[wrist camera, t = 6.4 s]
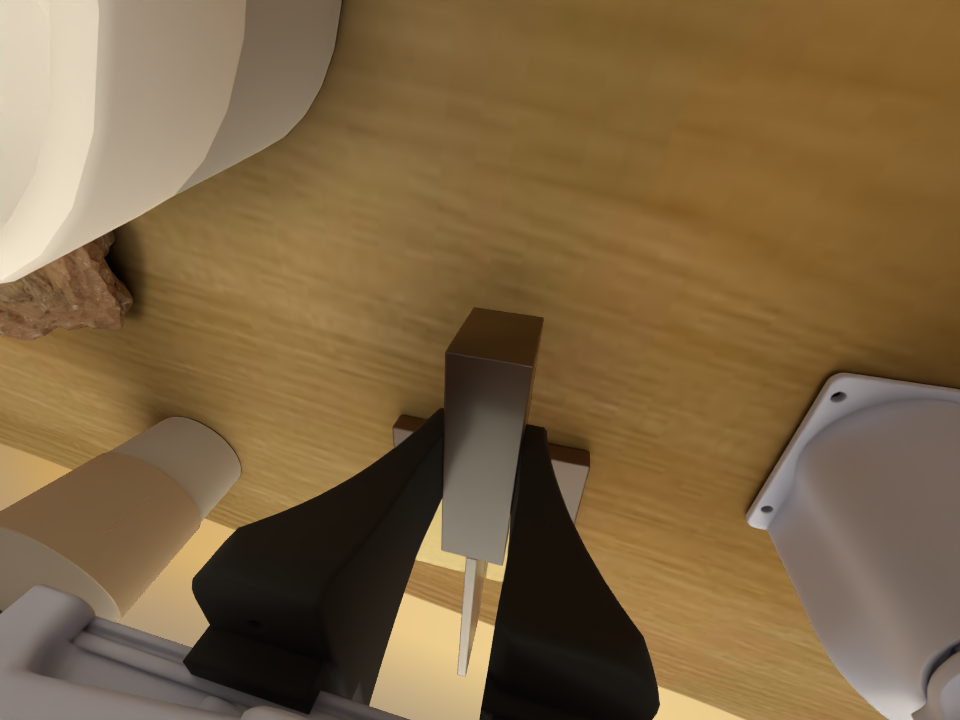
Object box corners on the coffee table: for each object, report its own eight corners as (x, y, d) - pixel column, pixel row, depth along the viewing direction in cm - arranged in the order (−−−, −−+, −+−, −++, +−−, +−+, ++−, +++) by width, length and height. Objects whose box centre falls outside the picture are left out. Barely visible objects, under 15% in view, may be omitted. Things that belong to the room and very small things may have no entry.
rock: (-84, 47, 13) (65, 63, 17) (-319, 69, 15) (-129, 78, 19) (121, 371, 20) (193, 327, 24) (-51, 365, 22) (44, 324, 26)
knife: (544, 316, 12) (534, 366, 9) (496, 615, 20) (484, 683, 18) (473, 306, 12) (445, 351, 10) (456, 604, 21) (438, 669, 18)
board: (560, 561, 26) (559, 578, 25) (406, 524, 28) (400, 538, 27) (590, 451, 21) (590, 467, 20) (400, 414, 23) (392, 427, 22)
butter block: (479, 529, 25) (467, 574, 22) (419, 514, 25) (401, 556, 23) (485, 459, 22) (473, 502, 19) (417, 445, 22) (396, 485, 20)
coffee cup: (262, 508, 31) (44, 760, 19) (164, 478, 33) (-103, 696, 20) (242, 421, 27) (-66, 680, 14) (129, 390, 28) (-252, 603, 15)
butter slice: (518, 538, 24) (511, 585, 22) (495, 532, 25) (485, 578, 22) (530, 469, 21) (523, 513, 19) (503, 463, 22) (493, 506, 19)
